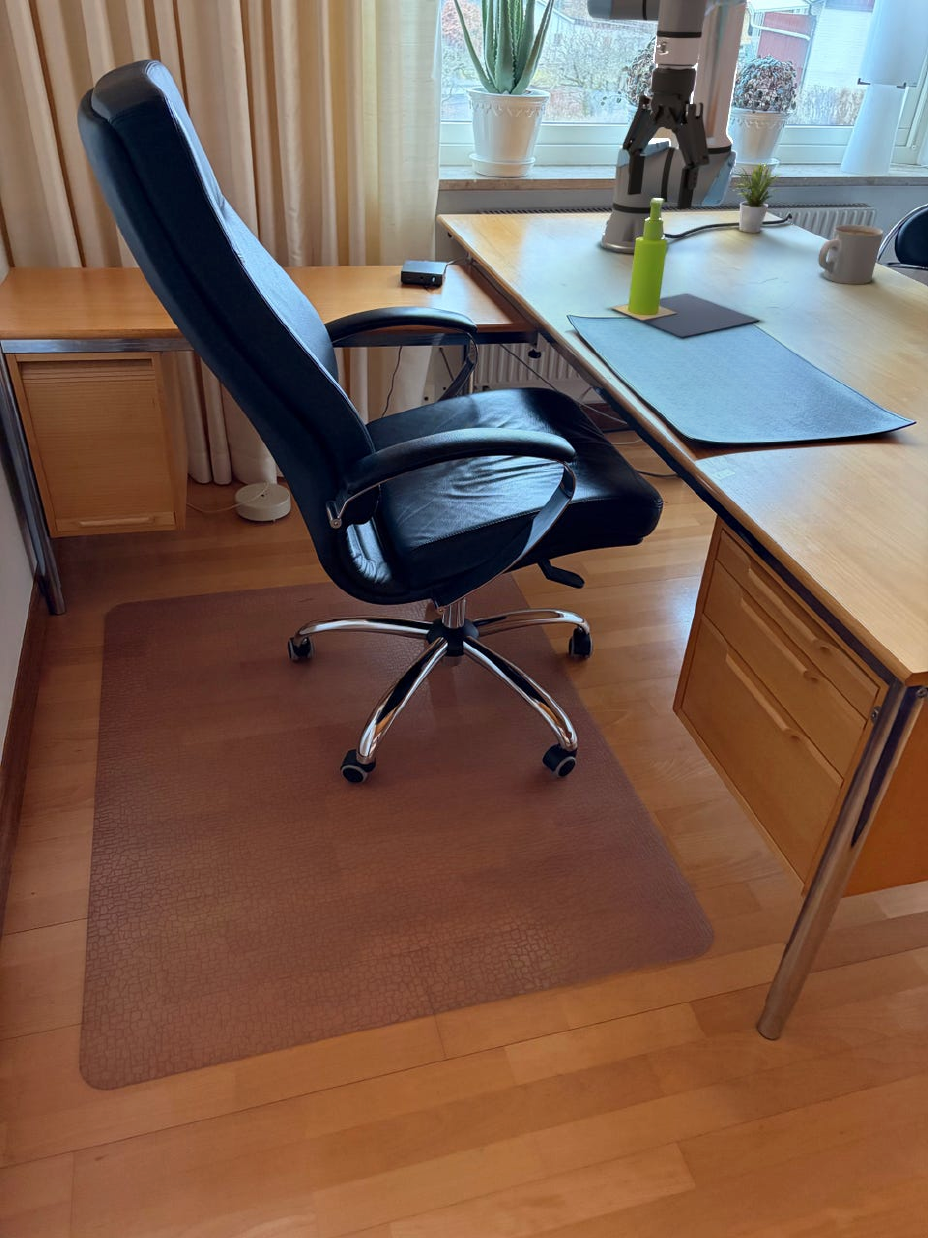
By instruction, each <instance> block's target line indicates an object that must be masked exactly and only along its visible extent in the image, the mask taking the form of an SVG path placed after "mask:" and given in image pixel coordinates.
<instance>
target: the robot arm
mask: <svg viewBox="0 0 928 1238" xmlns="http://www.w3.org/2000/svg"><path fill="white" fill-rule="evenodd" d="M749 2H750V0H586V9H587V13H588V15H589V16H590V18H592V19H595V20H605V21H606V22H607V21H644V22H646V21H648V22H657V30H656V37H655V45H654V54H653V63H654V64H655V65H656V66H655V67H653V68H652V70H651V71H652V72H651V78H650V87H649V88H650V92H651V93H653V94H643V95H642V94H641V95H640V96H639V99H638V106H637V109H636V111H635V113H634V116H633V118H632V121H631V124H630V126H629V128H628V130H627V133H626V136H625V138H624V140H623V143H622V145H621V146H620V147H619V149H618V152H617V159H616V164H615V176H614V188H613V196H612V197H613V198H612V209H611V213H610V215H609V218H608V219H607V221H606V224H605V229H604V230H605V231H604V232H603V234H602V235H601V236H602V237H601V241H600V246H601V247H602V248H604V249H606V250H608V251H611V252H616V253H621V254H631V255H634V253H635V244H636V239H637V238H639V237H643V233H644V225H645V220H646V219H648V218H649V217H650V213H651V206H650V202H651V201H652V199H653V198H659V199H665V201H664V202H663V203H665V204H677V205H676V209H678V210H685V209H691V208H692V206H699V207H701V208H702V207H718V206H720V205H721V204H722V203H723V202H724V200H725V198H726V196H727V193H728V190H729V187H730V184H731V181H732V178H733V175H734V172H735V167H736V165H737V158H738V152H737V151H736V150H735V149H732V148H733V140H732V138H731V137H730V136H729V135H728V126H729V120H730V114H731V108H732V101H733V94H734V88H735V81H736V76H737V75H736V74H737V67H738V62H739V55H740V49H741V41H742V37H743V29H744V23H745V15H746V11H747V10H746V9H747V5H748V3H749ZM661 128H664V129H665V130H670V131H671V133H673V134H674V136H675V139H676V141H677V144H678V146H672V143H671V140H670V139H669V138H661V137H660V138H659V137H655V138H654V136H655V135H656V134H657V132H658V131H659V130H660V129H661ZM662 210H663V204H662V205H661V208H660V216H659V218H661V219H662V220H663V218H662ZM791 219H793V215H792V213H791V212H788V213H786V215H785V217H784V218H783V219H777V220H766V221H765V220H763V223H762V226H769V225H780V224H785V223H786V222H787V221H788V220H791ZM726 227H740V221H738V222H725V223H724V222H722V223H713V224H706V225H700V226H698V227H695V228H692V229H689V230H686V231H684V232H681V233H679V234H678V233H677V234H671V233H664V227H663V228H662V236H661V238H664V239H680V238H684V237H685V236H689V235H691V234H693V233H697V232H699V231H703V230H707V229H708V230H709V229H715V228H726Z"/></svg>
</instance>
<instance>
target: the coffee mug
mask: <svg viewBox="0 0 928 1238" xmlns="http://www.w3.org/2000/svg"><path fill="white" fill-rule="evenodd" d="M883 236H884V231H883V229H880V228H877V227H875V226H874V227H873V226H869V225H864V224H863V225H862V224H840V225H837V226H835V227H834V229H833V233H832V238H831V239H829V240H827V241H825V242H824V243H823V244H822V245H821V247H820V250H819V253H818V257H817V258H818V259H817V261H818V262H817V263H818V265H819V267H821V268H822V269H823V270H824V271H823V278H825V279H827V280H828V281H832V282H835V283H839V284H845V285H846V284H847V285H865V284H868V283H870V282H871V281H872V278H873V274H874V272H875V271H874V270H875V266H876V264H877V259H878V255H879V251H880V247H881V244H882V240H883Z"/></svg>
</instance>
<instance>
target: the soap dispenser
mask: <svg viewBox="0 0 928 1238" xmlns="http://www.w3.org/2000/svg"><path fill="white" fill-rule="evenodd" d="M664 201H665V199H659V198H653V199H652V201H651V202H650V206H651V213H650V217H649V218H648V219H646V220H645V225H644V233H643V237H639V238H637V239H636V244H635V253H634V254H633V262H632V270H631V280H630V288H629V296H628V297H629V298H628V304H627V305H628V311H629V312H631V313H634V314H639V315H653V314H656V313H658V310H659V302H660V299H661V295H662V294H661V293H662V287H663V280H664V271H665V264H666V257H667V248H668V239H667V238H665V239H664V238H661V236H662V228H663V229H664V219H663V218H662V219H661V218H659V216H660V208H661V205H662V206H663V203H664Z"/></svg>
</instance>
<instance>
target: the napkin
mask: <svg viewBox="0 0 928 1238" xmlns="http://www.w3.org/2000/svg"><path fill="white" fill-rule="evenodd" d="M628 305H629V304H624V305H619V306H613V307H611V310H612V311H614V312H617V313H618V314H622V315H623V316H626V317H628V318H631V319H634V320H636V321H637V322H641V323H643V324H645V325H647V326H651V327H653V328H655V329H657V330H661V331H663V332H665V333H668V334H669V335H673V336H675V337H677V338H679V339H685V338H691V337H695V336H699V335H704V334H708V333H713V332H717V331H718V332H719V331H722V330H726V329H731V328H735V327H740V326H746V325H751V324H754V323H755V324H756V323H758V322H760V319H757V318H755V317H753V316H749V315H746V314H744V313H741V312H738V311H736V310H733V309H730V308H727V307H725V306H723V305H722V306H721V305H718V304H716V303H713V302H710V301H708V300H705V299H703V298H699V297H697V296H694V295H692V294H688V293H685V294H679V295H674V296H669V297H664V298H660V302H659V310H658V313H656V314H653V315H639V314H634V313H631V312H629V311H628Z"/></svg>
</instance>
